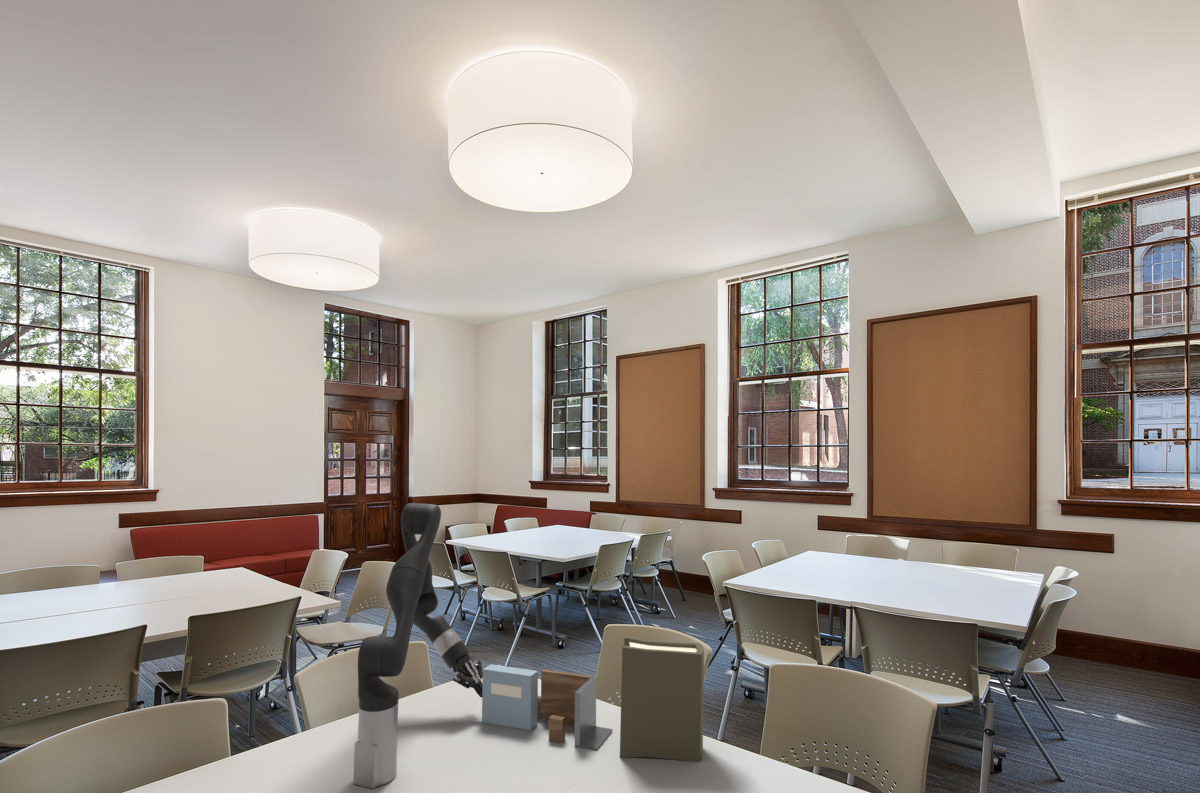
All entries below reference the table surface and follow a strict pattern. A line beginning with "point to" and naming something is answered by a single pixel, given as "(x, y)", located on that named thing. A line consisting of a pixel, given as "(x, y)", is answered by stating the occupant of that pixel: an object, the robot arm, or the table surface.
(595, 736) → the bookend
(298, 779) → the table surface
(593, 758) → the table surface
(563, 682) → the rail
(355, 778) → the robot arm
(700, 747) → the book
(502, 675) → the boxed book
